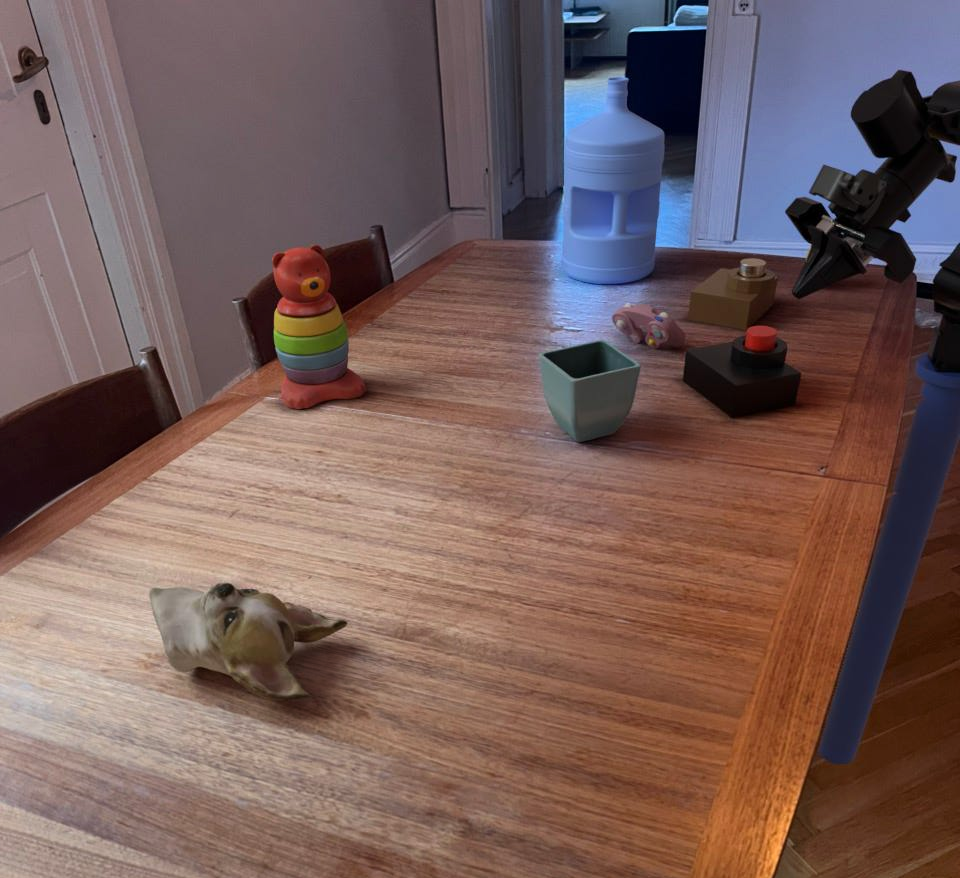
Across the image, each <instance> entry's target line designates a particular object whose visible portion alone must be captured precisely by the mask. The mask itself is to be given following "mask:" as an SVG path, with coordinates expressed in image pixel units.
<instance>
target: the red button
mask: <svg viewBox="0 0 960 878" xmlns="http://www.w3.org/2000/svg"><path fill="white" fill-rule="evenodd" d="M745 335H746V340H745V347H746V348H749V349H753V350H759V351H767V350H772V349H774V348H775V343H776V337H777V336H778V330H777V329H775V328H774V327H771V326H767V325H752V326H750V327H749V328H748V329H747V330H746V333H745Z"/></svg>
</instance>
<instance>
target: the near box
mask: <svg viewBox="0 0 960 878" xmlns="http://www.w3.org/2000/svg"><path fill="white" fill-rule="evenodd" d="M745 340H746V334H745V335H739V336H737V337H735V338H734V339H733V340H732V341H728V342H721V343H716V344H711V345H705V346H698V347H693V348H688V349H686V350H685V357H684V365H683V374H682V382H684V383H685V384H686V385H688V387H690V388H691V389H692V390H694V391H695V392H697V393H698V394H699V395H701V396H702V397H703V398H705V399H706V400H707V401H709V402H710V403H711V404H713V405H714V406H715V407H716V408H717V409H719V410H720V411H722V412H723V413H725V414H726V415H727V416H728V417H730V418H731V419H734V418H739V417H745V416H749V415H754V414H759V413H764V412H769V411H773V410H778V409H785V408H789V407H793V406H796V403H797V399H798V394H799V389H800V383H801V379H802V374H803V373H802V372H801V371H799V370H798V369H796V368H795V367H794V366H791V365H790V364H788V363H786V358H787V353H788V343H787V342H786V341H785V340H783V339H781V338H780V337H776V343H775V348H774V349H772V350H767V351H759V350H753V349H749V348H746V347H745Z"/></svg>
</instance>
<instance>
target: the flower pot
mask: <svg viewBox="0 0 960 878" xmlns="http://www.w3.org/2000/svg"><path fill="white" fill-rule="evenodd" d="M538 358H539V368H540V376H541V383H542V390H543V394H544V398H545V402H546V404H547V407H548V409H549V411H550V413H551V415H552V417H553V419H554V420H555V422H556V424H557V426H559V428H561V430H563V431H564V432H565V433H566V434H567V435H568V436H570V438H572V439H573V440H574V441H575V442H577V443H583V442H586V441H590V440H594V439H598V438H602V437H606V436H607V437H608V436H610V435H614V434H615V433H616V432H617V431H618V430H619V429H620V427H621V426H622V425H623V424H624V422H625V421H626V420H627V417H628V416H629V414H630V412H631V410H632V407H633V404H634V401H635V396H636V392H637V389H638V382H639V377H640V373H641V369H642V365H641V363H639V362H638V361H637V360H635V359H634V358H632V357H630V356H629V355H627V354H626V353H624V352H623V351H621V350H620V349H619V348H617V347H616V346H614V345H613V344H611V342H609V341H607V340H604V339H598V340H592V341H589V342H588V341H587V342H584V343H580V344H574V345H570V346H566V347H562V348H556V349H552V350H547V351H542V352H540V353H539V354H538Z"/></svg>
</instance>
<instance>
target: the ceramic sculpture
mask: <svg viewBox="0 0 960 878" xmlns="http://www.w3.org/2000/svg"><path fill="white" fill-rule="evenodd" d="M148 595H149V596H148V598H149V600H150V605H151V606H150V607H151V613H152V616H153V618H154V622H155V624H156V627H157V629H158V632H159V634H160V636H161V637H160V638H161V640H162V644H163V648H164V649H163V650H164V652H165V653H164V654H165V655H166V657H167V662H168V663H169V665H170V666H171V668H173V669H174V670H176V671H177V672H181V673H190V672H192V671H194V670H195V669H196V668H205V669H208V670H210V671H214V672H218V673H222V674H224V675H228V676H230V677H231V678H232V679H233V680H234V681H235V682H236V683H238V684H239V685H241V686H243V687H244V688H245V689H247V690H248V691H249V692H250V693H251V694H253V695H255V696H257V697H259V698H261V699H264V700H267V701H278V702H281V701H282V702H284V701H285V702H287V701H294V700H303V699H308V698H309V697H310V694H309V692H307V690H305V688H303V686H302V684H301V682H300V680H299V679H298V677H297V675H296V674H295V672H294V671H293V670H292V668H291V667H290V666H289V664H286V663H287V662H288V661H289V660H290V659H291V657H292V655H293V651H294V647H295V643H307V644H312V643H316V642H318V641H320V640H323V639H325V638H327V637H330V636H332V635H334V634H336V633H337V632H338V631H340V630H342V629H344V628H346V627H347V625H348V620H344V619H331V618H328V617H325V616H324V615H322V614H320V613H319V612H313V610H312V609H311V608H308V607H306V606H304V605H301V604H300V605H297V604H294V603H291V602H290V601H286V602H283V600H281V599H280V598H278V597H277V596H276V595H275V594H274V593H270V592H260V591H259V590H258V589H257V588H256V589H255V588H236V587H235V585H233V584H232V583H229V582H220V583H217V584H215V585H212V586H210V587H209V588H206V590H205V591H202V590H199V589H195V588H189V587H184V586H176V587H166V588H159V587H151V588H150V589H149V593H148Z"/></svg>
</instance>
